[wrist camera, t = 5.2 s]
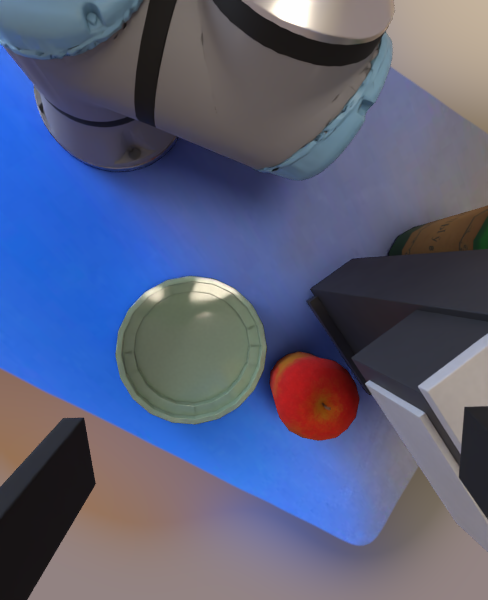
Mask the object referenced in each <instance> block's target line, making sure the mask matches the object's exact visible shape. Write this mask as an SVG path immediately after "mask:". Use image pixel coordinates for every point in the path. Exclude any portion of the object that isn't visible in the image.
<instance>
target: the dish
mask: <svg viewBox="0 0 488 600" xmlns="http://www.w3.org/2000/svg"><path fill="white" fill-rule="evenodd" d="M266 350H267V345H266V339H265V334H264V328H263V324H262V322H261V320H260V318H259V317H258V315H257V313H256V311H255V309H254V307H253V305H252V304H251V303H250V302H249V301H248V300H247V299H245V298H244V297H243V296H242V295H241V294H240V293H239V292H238V291H237V290H236V289H234V288H232V287H230V286H228V285H226V284H224V283H222V282H220V281H218V280H216V279H212V278H205V277H197V276H186V277H180V278H175V279H169V280H166V281H164V282H163V283H161V284H159V285H157V286H155V287H153V288H151V289H150V290H148V291H146V292H145V293H144V294H143V295H142V296H141V297H140V298H139V299H138V300H137V301H136V302H135V303H134V304H133V305H132V306H131V307H130V308H129V310H128V312H127V314H126V316H125V318H124V320H123V322H122V324H121V327H120V329H119V332H118V337H117V346H116V360H117V365H118V370H119V374H120V378H121V380H122V382H123V384H124V385H125V387H126V388H127V390H128V392H129V393H130V395H131V397H132V398H133V399H134V400H135V401H136V402H137V403H138V404H140V405H141V406H142V407H143V408H144V409H145V410H147V411H148V412H149V413H150V414H152V415H155V416H157V417H160V418H162V419H165V420H167V421H170V422H173V423H185V424H199V423H203V422H208V421H212V420H216V419H219V418H221V417H223V416H224V415H226V414H228V413H230V412H231V411H233V410H235V409H236V408H238V407H239V406H240V405H241V404H242V403H243V402H244V401H245V400H246V399H247V397H248V396H249V395H250V394H251V393H252V392H253V391H254V389H255V387H256V385H257V383H258V381H259V379H260V377H261V375H262V373H263V369H264V365H265V358H266Z"/></svg>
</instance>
